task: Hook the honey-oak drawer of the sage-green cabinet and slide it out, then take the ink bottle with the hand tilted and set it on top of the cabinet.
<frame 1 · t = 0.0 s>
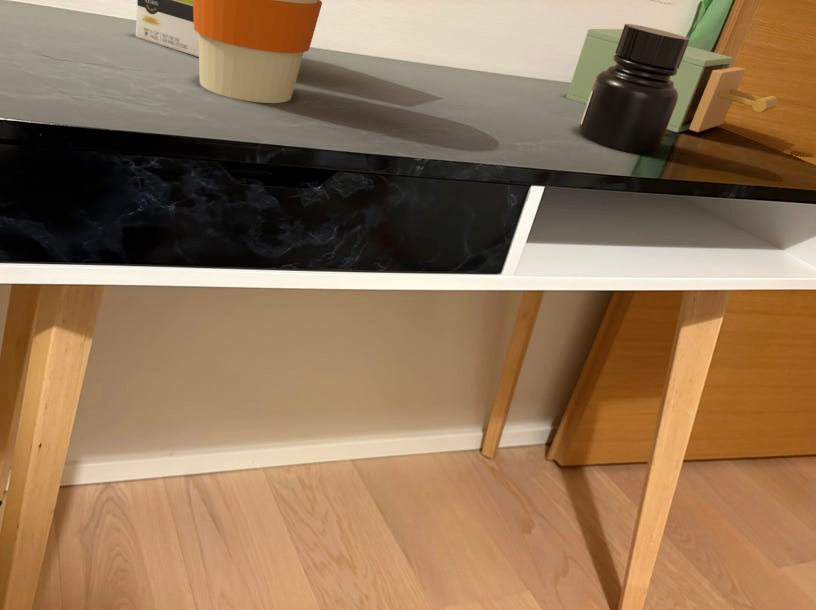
tea box: (211, 55, 92), on the table
drawer: (689, 90, 106), point 5 cm above the table, slide at 1.0 cm
reusable coffee cup: (245, 94, 79), on the table
ink bottle: (615, 145, 90), on the table
cabinet: (636, 112, 110), on the table
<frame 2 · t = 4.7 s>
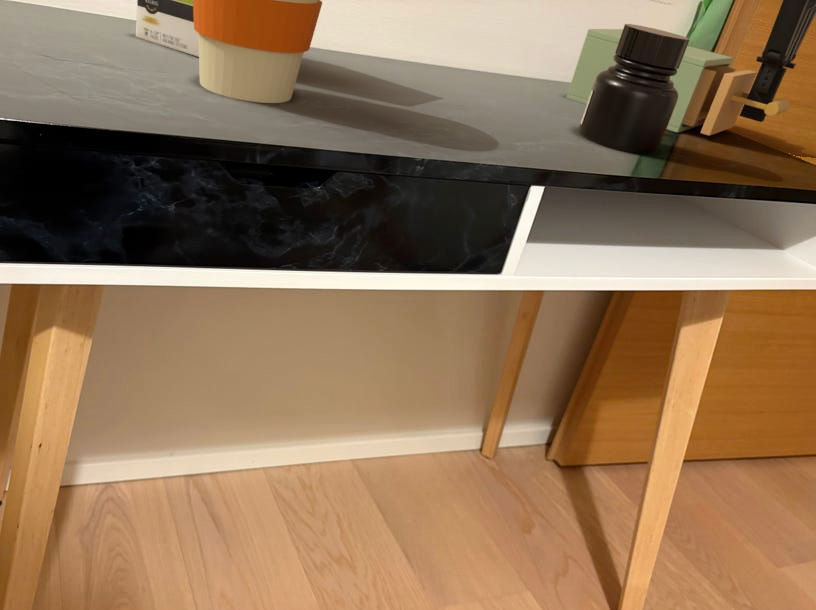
hand: (751, 118, 102), 3 cm above the table, tool pointing down, fingers closed
drawer: (700, 93, 105), point 5 cm above the table, slide at 2.5 cm, touching gripper
everything else where it was.
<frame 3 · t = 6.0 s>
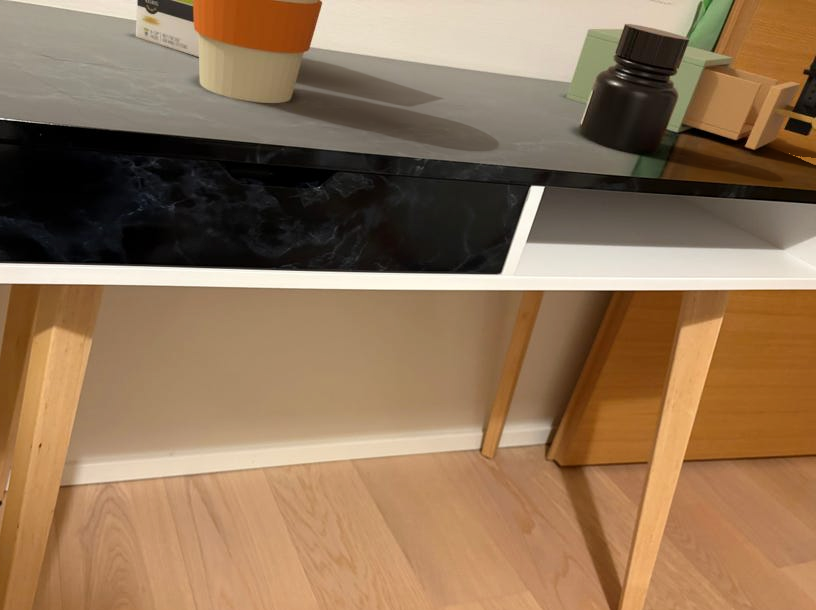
hand: (796, 132, 100), 3 cm above the table, tool pointing down, fingers closed
drawer: (743, 105, 102), point 5 cm above the table, slide at 8.0 cm
everything else where it was.
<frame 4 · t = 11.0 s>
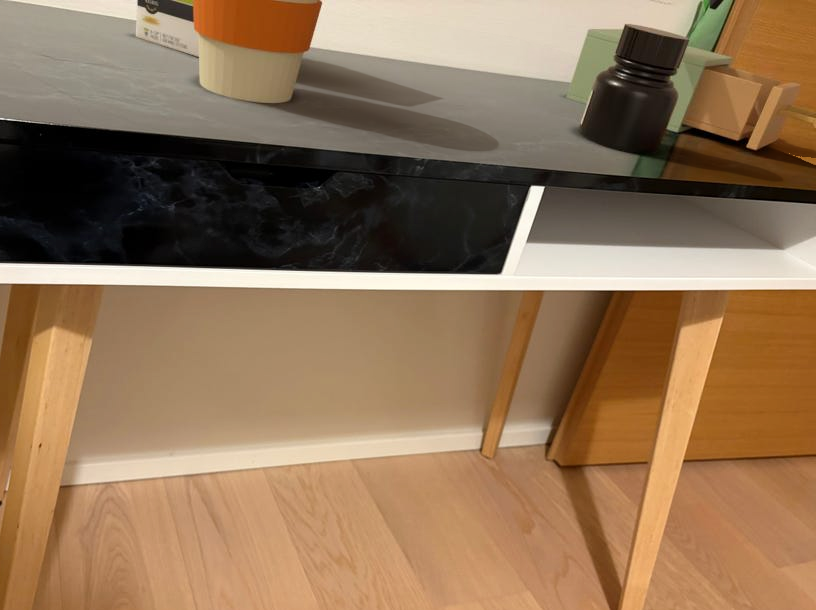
nothing on the table moved.
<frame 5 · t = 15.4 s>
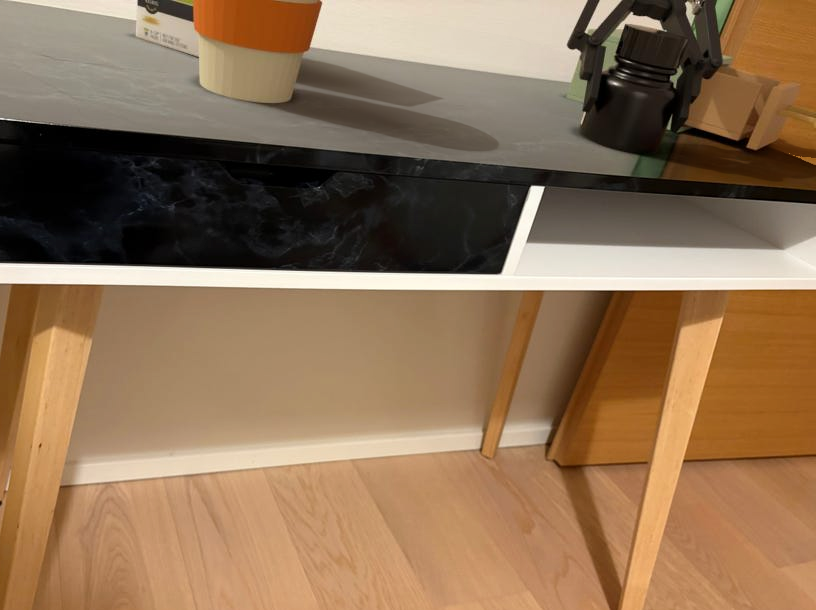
hand: (634, 114, 85), 4 cm above the table, tool tilted 45°, fingers closed on ink bottle, 9 cm apart
ink bottle: (615, 145, 90), on the table, touching gripper
everything else where it was.
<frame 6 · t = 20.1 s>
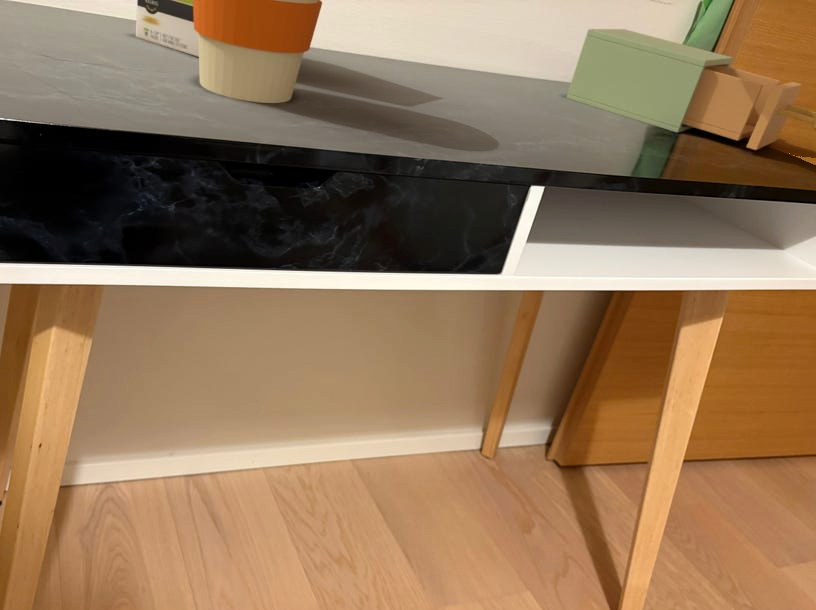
when the fingers open (13 cm above the table, at t = 25.1 s): ink bottle stays where it is, resting on cabinet.
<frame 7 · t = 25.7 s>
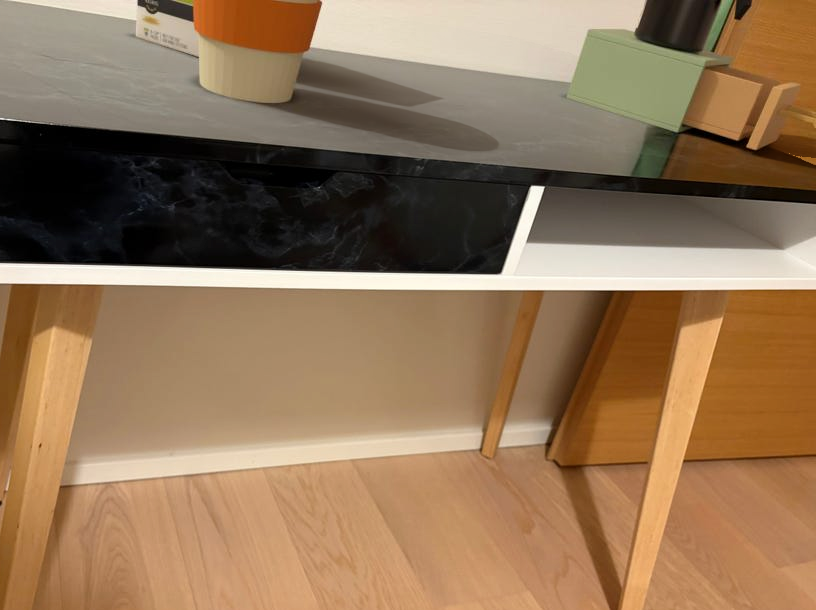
hand: (688, 1, 100), 15 cm above the table, tool tilted 45°, fingers open, 13 cm apart
ink bottle: (666, 46, 105), point 9 cm above the table, touching cabinet
everything else where it was.
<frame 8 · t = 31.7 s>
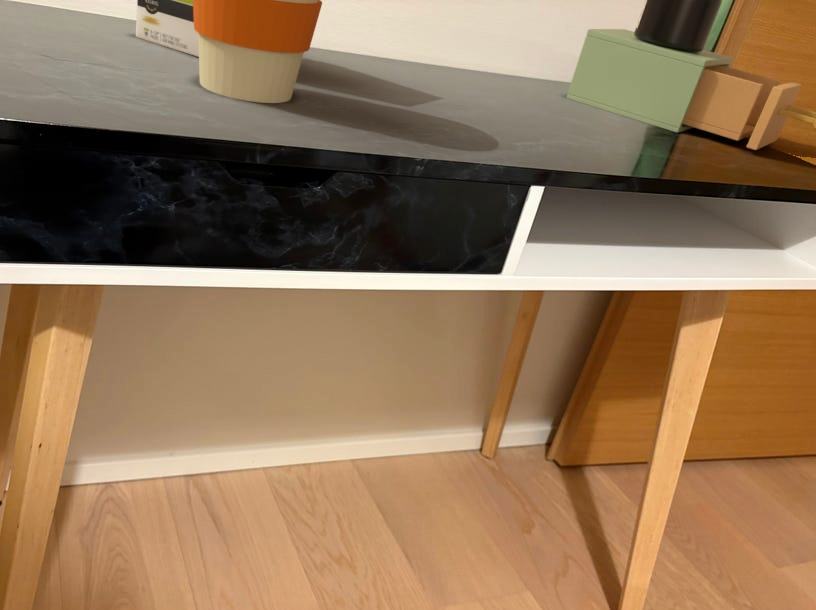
nothing on the table moved.
at the end: drawer slide at 8.2 cm; ink bottle inside the target area on the cabinet (1.3 cm from its centre), point 8.9 cm above the cabinet's base; ink bottle tilted 0° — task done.
